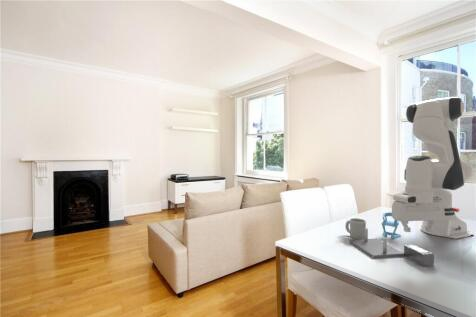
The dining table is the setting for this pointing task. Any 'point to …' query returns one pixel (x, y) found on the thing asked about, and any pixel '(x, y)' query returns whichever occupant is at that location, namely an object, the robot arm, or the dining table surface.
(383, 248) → the grey peg base
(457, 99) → the robot arm
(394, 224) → the chair
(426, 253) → the block
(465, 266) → the dining table surface
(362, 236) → the cup
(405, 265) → the dining table surface
